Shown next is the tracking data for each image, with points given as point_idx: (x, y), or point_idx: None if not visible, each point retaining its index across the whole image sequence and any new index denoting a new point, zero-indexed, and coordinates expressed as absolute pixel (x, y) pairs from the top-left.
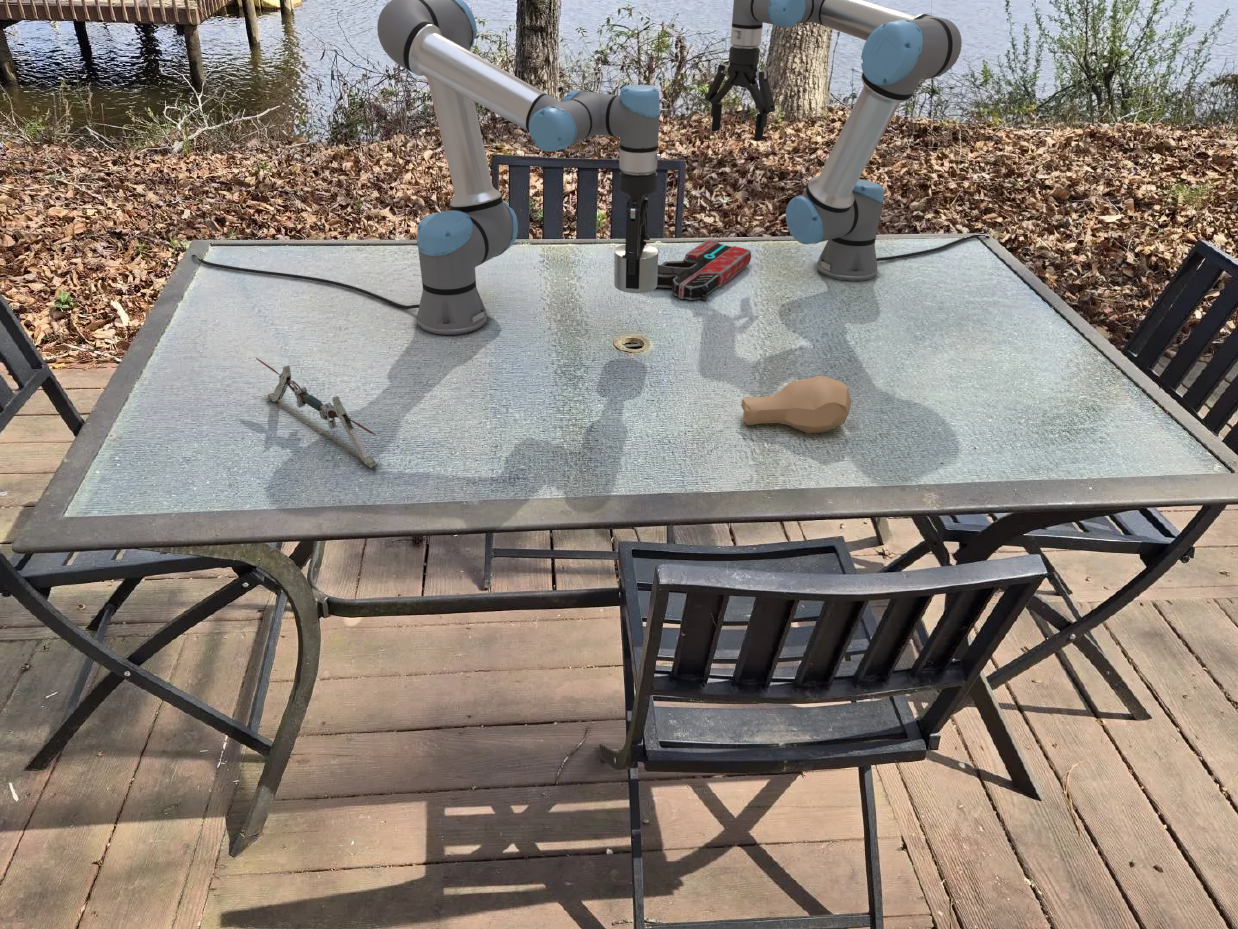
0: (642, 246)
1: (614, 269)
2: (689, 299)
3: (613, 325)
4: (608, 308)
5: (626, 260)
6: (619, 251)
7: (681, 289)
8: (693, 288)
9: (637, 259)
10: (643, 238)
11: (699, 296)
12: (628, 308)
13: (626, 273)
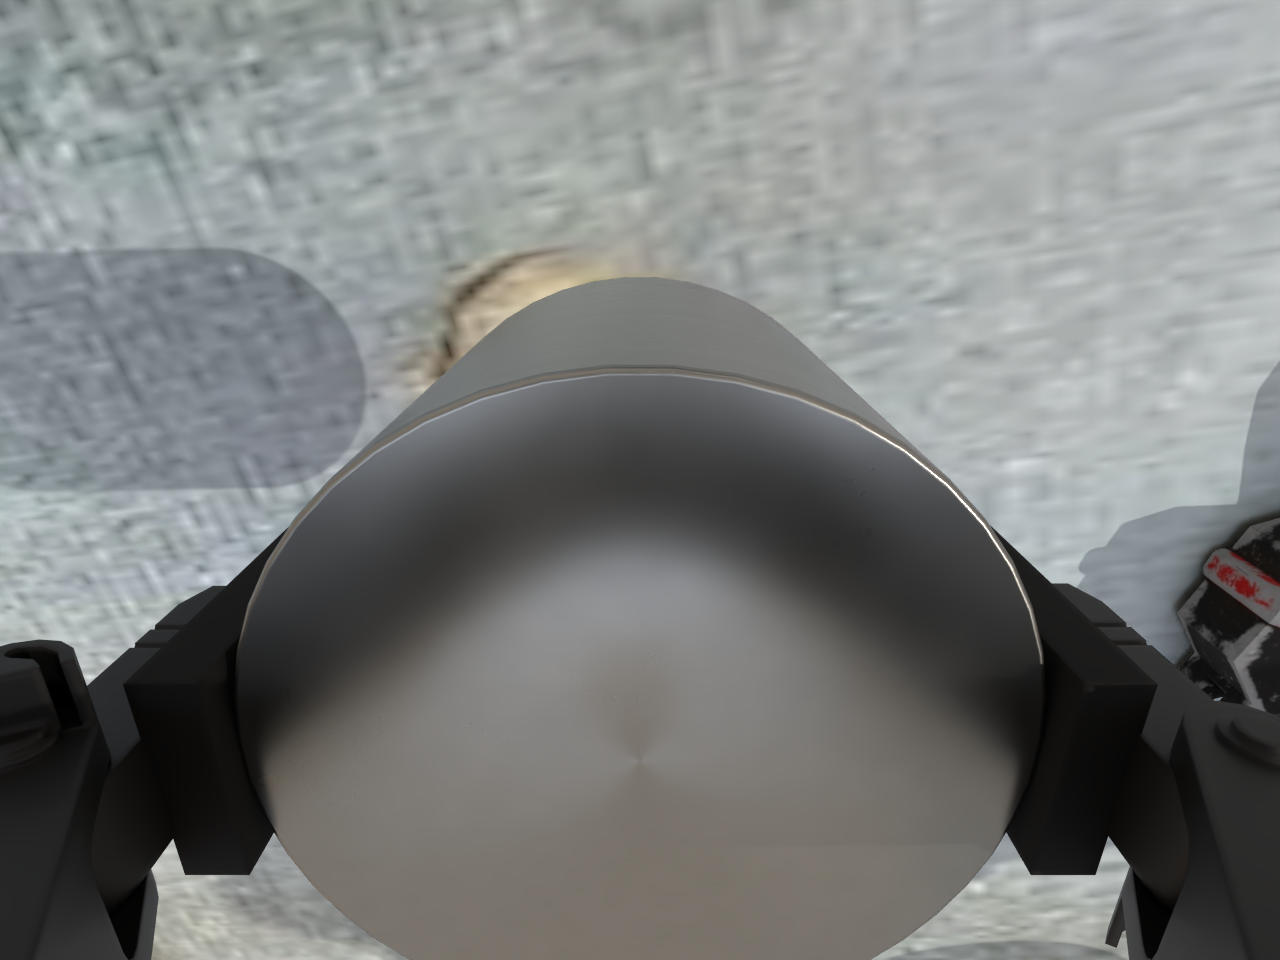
0: (886, 817)
1: (547, 318)
2: (1181, 608)
3: (797, 208)
4: (1082, 119)
5: (158, 656)
6: (535, 484)
7: (1246, 593)
8: (1231, 665)
9: (185, 835)
10: (1149, 872)
11: (1203, 660)
12: (1079, 265)
13: (276, 545)
